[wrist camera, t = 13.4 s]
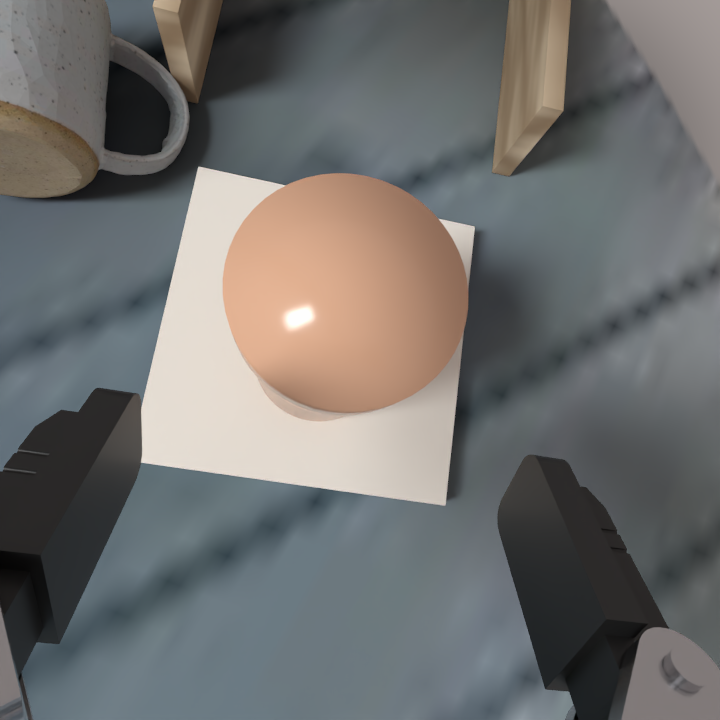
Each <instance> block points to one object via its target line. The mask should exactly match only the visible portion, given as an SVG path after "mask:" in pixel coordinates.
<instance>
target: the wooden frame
mask: <svg viewBox="0 0 720 720" xmlns="http://www.w3.org/2000/svg"><path fill="white" fill-rule="evenodd" d="M222 2H223V0H154V3H153V10H154V13H155V17H156V21H157V24H158V28H159V32H160V35H161V39H162V43H163V46H164V50H165V54H166V57H167V61H168V65H169V68H170V72H171V75H172V76H173V78H174V79H175V80H176V81H177V83H178V84H179V86H180V87H181V89H182V90H183V93H184V95H185V97H186V100H187V101H189V102H193V103H197V104H198V101H199V97H200V93H201V89H202V85H203V81H204V76H205V72H206V68H207V64H208V60H209V56H210V52H211V48H212V44H213V39H214V35H215V31H216V27H217V23H218V19H219V15H220V11H221V7H222ZM570 8H571V0H509V9H508V19H507V29H506V39H505V49H504V59H503V69H502V79H501V89H500V99H499V109H498V119H497V129H496V138H495V148H494V158H493V168H492V172H493V173H497V174H501V175H505V176H510V175H511V173H512V172H513V171H514V170H515V169H516V167H517V166H518V165H519V164H520V163H521V161H522V160H523V159H524V158H525V157H526V155H527V154H528V153H529V152H530V151H531V149H532V148H533V147H534V146H535V145H536V143H537V142H538V141H539V140H540V139H541V137H542V136H543V135H544V134H545V133H546V131H547V130H548V129H549V128H550V127H551V125H552V124H553V123H554V122H555V121H556V119H557V118H558V117H559V116H560V115H561V113H562V112H563V109H564V94H565V80H566V66H567V51H568V37H569V23H570Z"/></svg>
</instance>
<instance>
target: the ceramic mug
mask: <svg viewBox="0 0 720 720" xmlns="http://www.w3.org/2000/svg"><path fill="white" fill-rule="evenodd" d="M109 61H112V62H115V63H117V64H119V65H121V66H123V67H125V68H127V69H129V70H131V71H133V72H134V73H136V74H138V75H139V76H141V77H142V78H144V79H145V80H146V81H148V82H149V83H150V84H152V85H153V86H154V87H155V88H156V89H157V90H158V91H159V92H160V93H161V94H162V96H163V97H164V99H165V100H166V101H167V103H168V105H169V110H170V112H171V115H170V125H169V133H168V136H167V137H166V138H165V139H164V140H163V143H162V148H163V149H162V151H161V152H159V153H157V154H152V155H147V156H140V155H126V154H122V153H119V152H111V151H109V150H107V149H105V148H104V142H105V121H106V110H105V107H106V93H107V86H108V74H109ZM189 120H190V115H189V109H188V103H187V100H186V97H185V95H184V93H183V90H182V89H181V87H180V86H179V84H178V83H177V81H176V80H175V79H174V78H173V76H172V75H171V74H170V73H169V72H168V71H167V70H166V69H165V68H164V67H163V66H162V65H161V64H160V63H159V62H158V61H156V60H155V59H154V58H153V57H151V56H150V55H148V54H147V53H146V52H144V51H143V50H141V49H140V48H138V47H136V46H135V45H133V44H131V43H129V42H127V41H125V40H123V39H121V38H119V37H117V36H115V35H113V34H112V33H111V23H110V17H109V12H108V7H107V4H106V2H105V0H0V195H8V196H16V197H25V198H47V197H56V196H63V195H67V194H70V193H73V192H75V191H77V190H79V189H81V188H83V187H85V186H86V185H87V184H89V183H90V182H91V181H92V180H93V179H94V177H95V176H96V174H97V171H98V170H100V169H103V170H106V171H111V172H114V173H117V174H123V175H145V174H151V173H156V172H158V171H161V170H163V169H165V168H166V167H168V166H169V165H170V164H171V163H172V162H173V161H174V160H175V158H176V157H177V156H178V154H179V153H180V151H181V148H182V147H183V145H184V143H185V140H186V137H187V133H188V130H189Z"/></svg>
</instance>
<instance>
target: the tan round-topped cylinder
mask: <svg viewBox="0 0 720 720" xmlns="http://www.w3.org/2000/svg"><path fill="white" fill-rule="evenodd" d="M223 301H224V307H225V313H226V316H227V320H228V323H229V326H230V329H231V332H232V335H233V338H234V341H235V343H236V345H237V347H238V349H239V352H240V354H241V356H242V357H243V359H244V360H245V362H246V364H247V365H248V367H249V368H250V369H251V370H252V372H253V373H254V374H255V375H256V376H257V378H258V381H259V383H260V385H261V387H262V389H263V390H264V392H265V394H266V395H267V396H268V397H269V399H270V400H271V401H272V402H273V403H274V404H275V405H276V406H277V407H279V408H280V409H282V410H283V411H284V412H286V413H288V414H290V415H292V416H294V417H297V418H300V419H304V420H308V421H330V420H335V419H338V418H341V417H344V416H347V415H360V414H365V413H371V412H374V411H377V410H380V409H383V408H386V407H388V406H391V405H393V404H395V403H397V402H400V401H402V400H404V399H406V398H408V397H410V396H412V395H413V394H415V393H416V392H418V391H419V390H421V389H422V388H424V387H425V386H426V385H428V384H429V383H430V382H431V381H432V380H433V379H434V378H436V377H437V375H438V374H439V373H440V372H441V371H442V370H443V368H444V367H445V366H446V365H447V363H448V362H449V360H450V359H451V357H452V356H453V354H454V353H455V351H456V348H457V346H458V344H459V342H460V340H461V337H462V334H463V331H464V327H465V324H466V318H467V312H468V284H467V277H466V273H465V268H464V264H463V262H462V259H461V256H460V253H459V251H458V249H457V247H456V245H455V243H454V241H453V239H452V237H451V236H450V234H449V233H448V231H447V230H446V228H445V227H444V225H443V224H442V223H441V222H440V220H439V219H438V218H437V217H436V216H435V215H434V213H433V212H431V211H430V210H429V209H428V208H427V207H426V206H425V205H424V204H423V203H422V202H420V201H419V200H417V199H416V198H415V197H413V196H412V195H410V194H409V193H407V192H405V191H404V190H402V189H400V188H398V187H396V186H394V185H392V184H389V183H387V182H384V181H382V180H379V179H375V178H371V177H368V176H362V175H356V174H342V173H334V174H322V175H317V176H312V177H307V178H304V179H301V180H298V181H295V182H292V183H290V184H288V185H286V186H284V187H282V188H280V189H278V190H277V191H275V192H274V193H272V194H271V195H269V196H268V197H266V198H265V199H264V200H263V201H262V202H260V203H259V204H258V205H257V206H256V207H255V208H254V209H253V210H252V211H251V212H250V214H249V215H248V216H247V217H246V218H245V220H244V221H243V222H242V224H241V226H240V227H239V229H238V230H237V232H236V234H235V236H234V238H233V240H232V243H231V245H230V247H229V250H228V253H227V257H226V261H225V265H224V272H223Z"/></svg>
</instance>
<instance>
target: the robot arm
mask: <svg viewBox="0 0 720 720" xmlns="http://www.w3.org/2000/svg"><path fill="white" fill-rule="evenodd" d="M141 458H142V422H141V399H140V396H139V394H136V393H130V392H123V391H117V390H110V389H104V388H96V389H95V390H94V391H93V392H92V393H91V395H90V396H89V397H88V399H87V400H86V402H85V403H84V405H83V406H82V407H81V409H80V410H79V412H72V411H65V410H60V411H59V412H57V413H56V414H54V415H53V416H51V417H49V418H48V419H46V420H45V421H43V422H42V423H40V424H39V425H37V426H35V427H34V429H33V430H32V431H31V433H30V434H29V435H28V436H27V438H26V439H25V440H24V442H23V443H22V444H21V445H20V447H19V448H18V452H17V453H14V454H13V456H12V457H11V458H10V460H9V461H8V462H7V463H6V465H5V466H4V470H3V472H0V720H34V719H33V715H32V711H31V706H30V702H29V698H28V694H27V690H26V686H25V681H24V677H23V673H22V670H23V668H24V666H25V664H26V662H27V660H28V658H29V656H30V654H31V652H32V650H33V648H34V646H35V644H36V642H41V643H53V644H60V641H61V639H62V637H63V635H64V633H65V631H66V629H67V626H68V624H69V622H70V620H71V618H72V616H73V614H74V611H75V609H76V607H77V605H78V603H79V601H80V599H81V596H82V594H83V592H84V590H85V588H86V586H87V584H88V582H89V579H90V577H91V575H92V573H93V571H94V569H95V567H96V564H97V562H98V560H99V558H100V556H101V554H102V552H103V549H104V547H105V545H106V543H107V541H108V539H109V537H110V534H111V532H112V530H113V528H114V526H115V524H116V522H117V519H118V517H119V515H120V513H121V511H122V509H123V507H124V505H125V502H126V500H127V498H128V496H129V494H130V492H131V490H132V487H133V485H134V483H135V481H136V478H137V475H138V472H139V468H140V464H141ZM498 529H499V533H500V536H501V540H502V543H503V547H504V550H505V554H506V557H507V560H508V564H509V567H510V571H511V574H512V577H513V581H514V584H515V588H516V591H517V594H518V598H519V601H520V605H521V608H522V611H523V615H524V618H525V622H526V625H527V628H528V632H529V635H530V639H531V642H532V645H533V649H534V652H535V656H536V659H537V662H538V666H539V669H540V673H541V676H542V680H543V683H544V686H545V689H547V690H558V691H569V692H570V695H571V698H572V701H573V704H574V705H573V706H572V707H571V709H570V710H569V711H568V713H567V716H566V719H565V720H720V670H719V668H718V667H717V665H716V664H715V663H714V661H713V660H712V659H711V658H710V657H709V656H708V655H707V654H706V653H705V651H704V650H702V649H701V648H700V647H699V646H698V645H697V644H696V643H694V642H693V641H691V640H690V639H689V638H687V637H685V636H684V635H682V634H680V633H678V632H676V631H673V630H670V629H669V628H668V626H667V624H666V622H665V620H664V619H663V617H662V615H661V613H660V611H659V609H658V607H657V605H656V603H655V601H654V600H653V598H652V596H651V594H650V592H649V590H648V588H647V586H646V584H645V582H644V581H643V579H642V577H641V575H640V573H639V571H638V569H637V567H636V565H635V564H634V562H633V560H632V558H631V556H630V554H627V552H626V550H627V548H626V546H625V545H624V543H623V541H622V539H621V537H620V535H617V529H616V527H615V526H614V524H613V522H612V520H611V518H610V516H609V514H608V512H607V510H606V508H605V507H604V506H603V505H602V504H601V503H600V502H599V501H598V500H597V499H596V498H595V496H594V495H593V494H592V493H591V492H590V491H589V490H588V489H587V488H586V487H580V485H579V483H578V481H577V479H576V477H575V475H574V473H573V471H572V469H571V467H570V465H569V464H568V463H567V462H566V461H565V460H563V459H556V458H550V457H543V456H537V455H528V456H526V457H525V458H524V459H523V461H522V463H521V465H520V466H519V468H518V470H517V472H516V474H515V476H514V478H513V479H512V481H511V483H510V485H509V487H508V489H507V491H506V492H505V494H504V496H503V498H502V500H501V502H500V505H499V509H498Z"/></svg>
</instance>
